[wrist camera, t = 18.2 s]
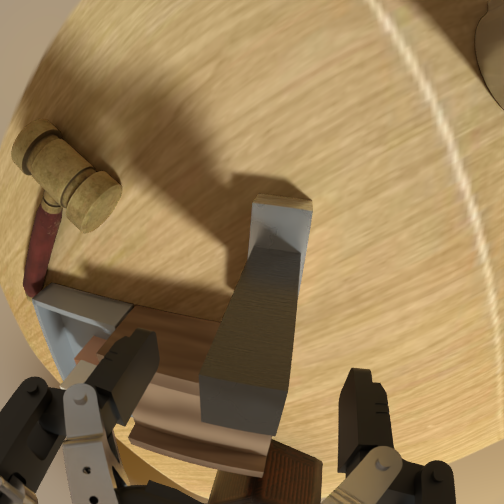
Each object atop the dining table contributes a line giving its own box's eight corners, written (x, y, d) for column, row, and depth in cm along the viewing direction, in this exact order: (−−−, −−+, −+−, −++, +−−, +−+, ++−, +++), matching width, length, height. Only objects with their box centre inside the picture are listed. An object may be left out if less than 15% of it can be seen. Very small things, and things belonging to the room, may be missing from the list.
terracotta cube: (124, 345, 29) (93, 335, 29) (105, 370, 25) (73, 358, 26) (130, 371, 30) (101, 361, 31) (114, 396, 27) (84, 384, 27)
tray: (51, 282, 28) (31, 298, 25) (133, 304, 27) (114, 326, 24) (80, 373, 34) (67, 390, 31) (152, 398, 33) (140, 420, 29)
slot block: (136, 304, 27) (96, 353, 20) (291, 334, 25) (283, 398, 19) (154, 399, 33) (131, 443, 26) (271, 425, 31) (262, 477, 25)
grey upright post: (258, 193, 21) (186, 305, 9) (312, 200, 20) (315, 327, 8) (248, 300, 24) (197, 450, 12) (294, 308, 24) (273, 465, 12)
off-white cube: (81, 359, 25) (59, 386, 22) (114, 371, 25) (93, 401, 21) (91, 385, 27) (72, 411, 23) (122, 398, 26) (105, 426, 23)
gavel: (47, 339, 28) (-7, 281, 27) (69, 316, 32) (17, 263, 31) (95, 198, 18) (17, 122, 17) (131, 179, 22) (56, 114, 21)
